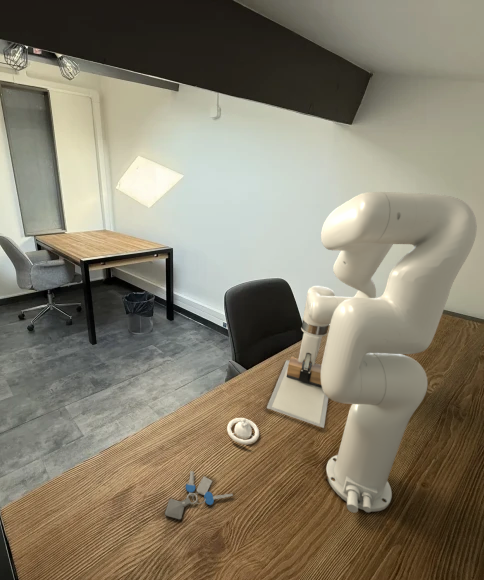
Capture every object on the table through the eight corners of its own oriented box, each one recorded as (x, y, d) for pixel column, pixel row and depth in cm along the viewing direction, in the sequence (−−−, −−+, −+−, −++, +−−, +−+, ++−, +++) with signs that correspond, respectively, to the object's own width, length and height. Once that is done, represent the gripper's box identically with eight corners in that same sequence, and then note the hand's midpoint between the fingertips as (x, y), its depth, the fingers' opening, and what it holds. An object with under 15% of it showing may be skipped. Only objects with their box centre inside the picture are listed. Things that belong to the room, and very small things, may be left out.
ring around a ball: (247, 420, 82) (220, 428, 79) (249, 403, 79) (222, 411, 76) (264, 443, 75) (236, 453, 72) (267, 426, 73) (239, 435, 70)
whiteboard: (323, 431, 79) (324, 428, 79) (265, 410, 85) (266, 407, 85) (331, 374, 103) (332, 372, 102) (286, 362, 109) (286, 359, 109)
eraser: (322, 388, 94) (325, 374, 92) (286, 377, 99) (288, 364, 97) (323, 379, 98) (326, 366, 97) (289, 369, 103) (291, 356, 101)
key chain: (168, 525, 56) (168, 522, 56) (155, 486, 63) (155, 483, 63) (233, 497, 61) (233, 494, 61) (215, 464, 68) (215, 461, 68)
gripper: (306, 313, 101) (297, 360, 107) (297, 335, 86) (288, 388, 93) (330, 319, 98) (320, 367, 104) (325, 341, 83) (314, 396, 90)
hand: (305, 376), depth 98 cm, fingers closed on eraser, 5 cm apart
